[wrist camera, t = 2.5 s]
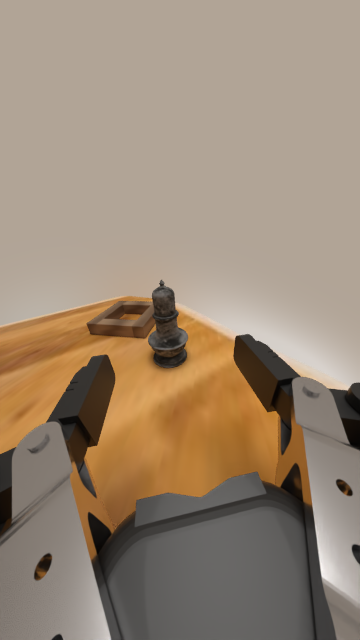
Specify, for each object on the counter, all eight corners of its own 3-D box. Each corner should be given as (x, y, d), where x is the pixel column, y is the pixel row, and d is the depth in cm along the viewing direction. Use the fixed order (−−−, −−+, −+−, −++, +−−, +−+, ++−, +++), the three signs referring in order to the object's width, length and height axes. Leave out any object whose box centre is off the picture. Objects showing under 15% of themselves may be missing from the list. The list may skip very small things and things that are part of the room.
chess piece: (166, 340, 28) (158, 273, 22) (195, 350, 25) (194, 276, 19) (143, 360, 24) (126, 283, 18) (174, 375, 21) (165, 289, 15)
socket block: (90, 334, 31) (86, 323, 30) (121, 309, 42) (119, 300, 40) (145, 338, 29) (142, 326, 28) (163, 311, 39) (162, 301, 38)
